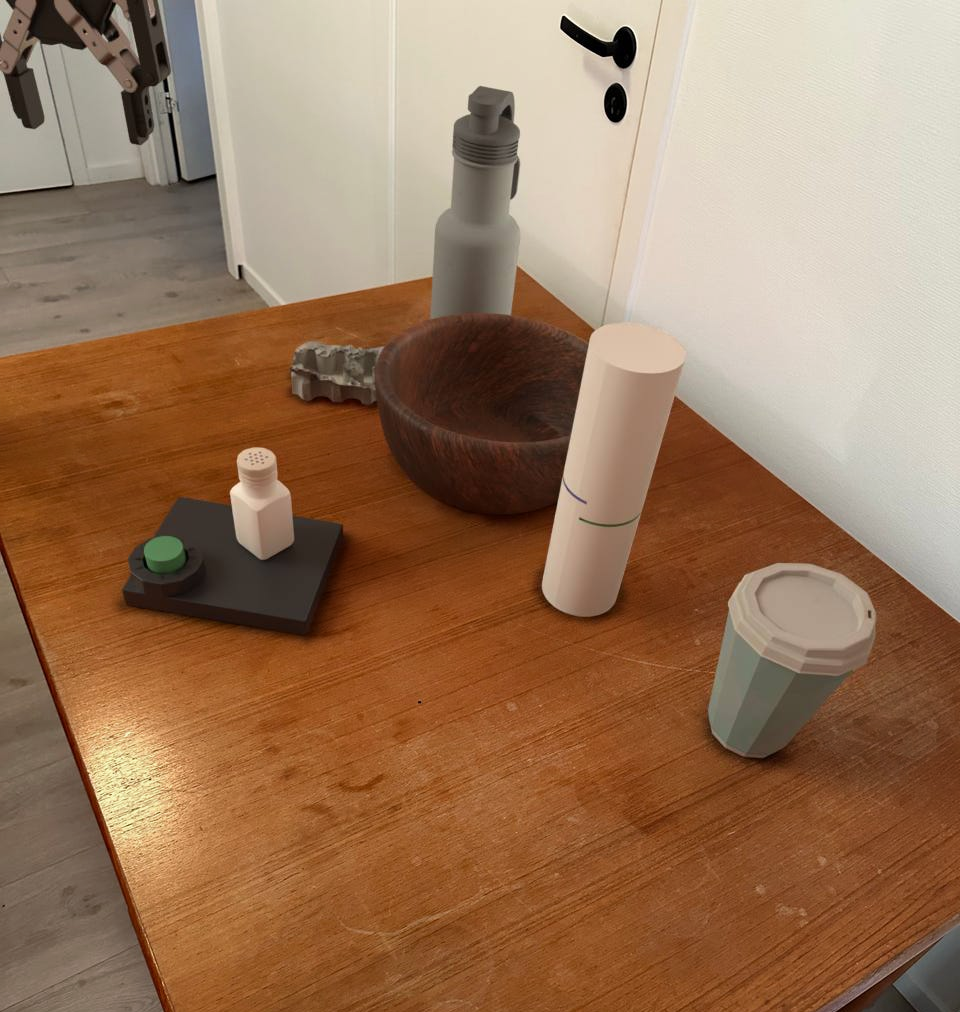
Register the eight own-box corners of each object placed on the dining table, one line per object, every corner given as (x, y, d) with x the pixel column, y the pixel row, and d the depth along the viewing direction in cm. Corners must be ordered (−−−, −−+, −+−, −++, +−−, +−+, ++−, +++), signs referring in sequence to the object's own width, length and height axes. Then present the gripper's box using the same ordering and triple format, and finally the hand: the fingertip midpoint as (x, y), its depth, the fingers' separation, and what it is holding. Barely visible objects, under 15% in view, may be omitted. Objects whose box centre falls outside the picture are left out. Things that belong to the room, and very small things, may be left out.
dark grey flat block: (124, 605, 78) (116, 576, 75) (180, 511, 87) (174, 482, 84) (306, 636, 77) (303, 608, 75) (343, 538, 86) (342, 510, 83)
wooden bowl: (595, 554, 88) (616, 469, 80) (346, 509, 89) (344, 420, 81) (612, 414, 105) (631, 333, 97) (403, 377, 106) (406, 294, 98)
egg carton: (287, 400, 101) (284, 368, 98) (298, 365, 106) (295, 333, 103) (382, 408, 101) (382, 376, 98) (388, 373, 106) (388, 341, 103)
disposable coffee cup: (675, 758, 72) (731, 632, 61) (690, 663, 79) (742, 534, 68) (807, 795, 71) (888, 672, 60) (810, 694, 78) (883, 569, 67)
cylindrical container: (576, 553, 88) (630, 313, 69) (632, 593, 85) (705, 352, 66) (526, 585, 84) (569, 340, 66) (583, 628, 81) (645, 384, 62)
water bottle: (442, 316, 116) (458, 70, 96) (515, 332, 115) (547, 87, 95) (418, 354, 110) (430, 98, 89) (495, 371, 109) (525, 117, 88)
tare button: (141, 570, 76) (137, 557, 75) (155, 546, 79) (152, 533, 77) (177, 577, 76) (174, 563, 75) (191, 552, 78) (188, 539, 77)
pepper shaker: (234, 542, 82) (221, 456, 75) (269, 523, 84) (260, 438, 77) (262, 564, 80) (252, 479, 73) (297, 544, 82) (290, 459, 75)
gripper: (158, -130, 61) (193, 131, 73) (-46, -160, 61) (22, 104, 73) (111, -113, 56) (157, 165, 68) (-110, -145, 56) (-26, 136, 68)
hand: (87, 133), depth 70 cm, fingers open, 8 cm apart
